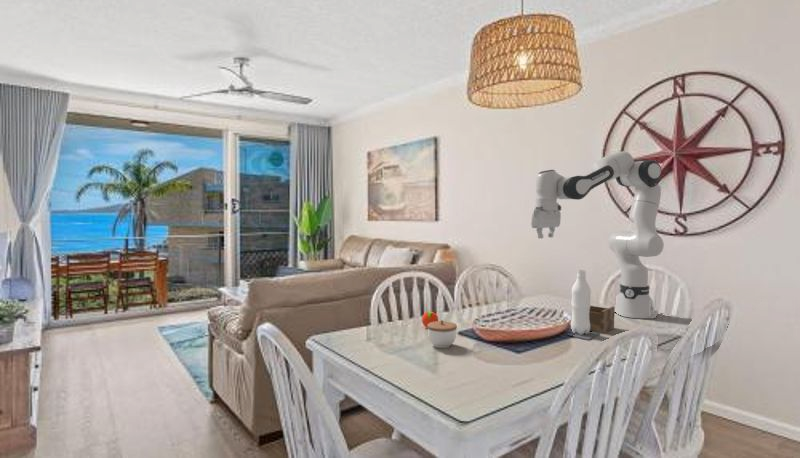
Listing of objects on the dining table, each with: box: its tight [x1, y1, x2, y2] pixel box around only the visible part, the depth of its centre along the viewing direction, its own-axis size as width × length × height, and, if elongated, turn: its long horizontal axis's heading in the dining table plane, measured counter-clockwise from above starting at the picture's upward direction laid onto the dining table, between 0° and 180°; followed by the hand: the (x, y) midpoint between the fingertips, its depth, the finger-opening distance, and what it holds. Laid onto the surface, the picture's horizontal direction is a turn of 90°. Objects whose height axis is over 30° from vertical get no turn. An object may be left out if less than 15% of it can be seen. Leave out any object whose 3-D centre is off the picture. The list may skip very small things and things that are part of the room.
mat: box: [573, 331, 601, 341], centre depth 179 cm, size 11×11×1 cm
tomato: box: [421, 311, 439, 329], centre depth 189 cm, size 8×7×7 cm
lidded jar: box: [426, 319, 458, 349], centre depth 165 cm, size 11×11×9 cm
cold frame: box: [589, 305, 616, 335], centre depth 189 cm, size 12×12×9 cm
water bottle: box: [570, 269, 592, 335], centre depth 179 cm, size 7×7×25 cm
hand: (545, 237), depth 201 cm, fingers open, 8 cm apart
